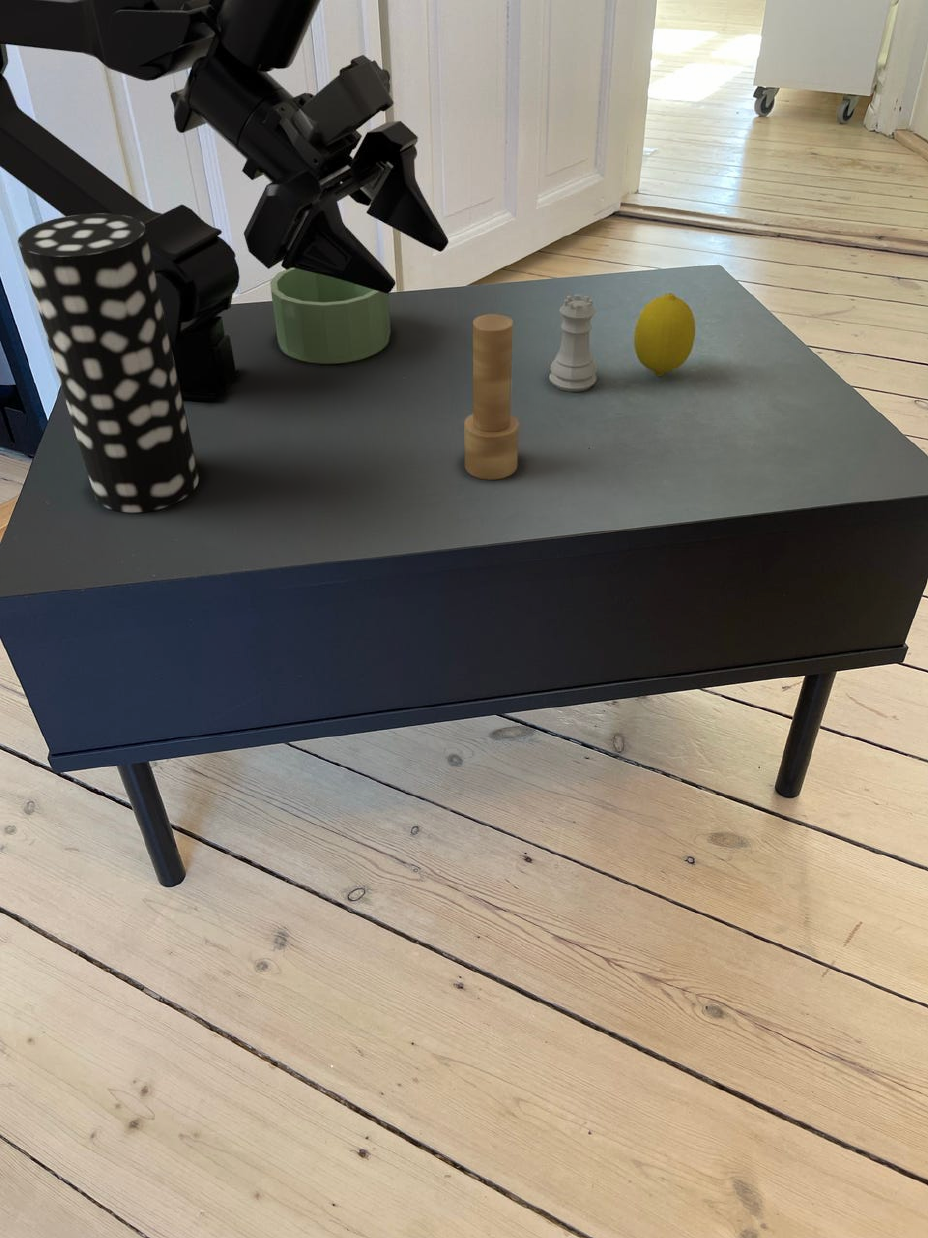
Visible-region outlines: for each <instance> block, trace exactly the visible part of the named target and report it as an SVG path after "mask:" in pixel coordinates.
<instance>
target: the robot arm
mask: <svg viewBox="0 0 928 1238" xmlns="http://www.w3.org/2000/svg"><path fill="white" fill-rule="evenodd" d="M320 2H321V0H0V168H1V169H3V170H4V171H5V172H6V173H8V174H9V175H11V176H12V177H13V178H14V179H15V180H17V181H19V182H20V183H21V184H22V185H24V186H25V187H26V188H27V189H29V190H30V191H31V192H32V193H34V194H35V195H37V196H38V197H39V198H41V200H43V201H44V202H46V203H47V204H48V205H50V206H51V207H52V208H53V209H55V210H56V211H58V213H60V214H62V215H63V217H67V216H73V215H81V214H97V213H105V214H118V215H125V216H129V217H133V218H135V219H138V220H139V221H141V222H142V223H143V224H144V225H145V228H146V232H147V237H148V242H149V246H150V251H151V256H152V260H153V265H154V270H155V274H156V279H157V284H158V288H159V293H160V298H161V302H162V307H163V312H164V316H165V321H166V326H167V330H168V335H169V339H170V344H171V349H172V353H173V358H174V363H175V367H176V372H177V377H178V381H179V386H180V391H181V395H182V400H191V401H200V402H201V401H202V402H214V401H217V400H218V398H219V397H220V396H221V395H222V394H223V392H224V391H225V390H226V389H227V387H228V386H229V385H230V383H231V382H232V381H233V380H234V379H235V377H236V376H237V375H239V372H240V368H239V366H237V365H236V363H235V359H234V352H233V346H232V341H231V336H230V334H228V333H225V327H224V322H223V317H222V316H220V314H221V313H223V312H224V311H228V310H229V309H230V308H231V307H232V300H233V295H234V294H235V292H236V290H237V289H238V287H239V282H240V270H239V265H238V263H237V260H236V253H235V251H234V250H233V248H232V246H231V245H229V244H228V242H227V241H225V239H223V238H222V237H220V235H222V234H223V231H222V229H220V228H216V227H214V226H212V225H211V224H208V223H207V222H205V221H204V220H203V219H202V218H201V217H200V216H199V215H198V214H197V213H196V212H195V211H194V210H193V209H192V208H190V207H188V206H186V205H184V204H179V205H178V206H176V207H172V208H171V209H169V210H167V211H165V212H163V213H162V212H157V211H154V210H152V209H151V208H149V207H147V206H146V205H145V204H143V202H141V201H140V200H139V199H138V198H136V197H134V195H132V194H131V193H129V192H128V191H127V190H126V189H124V188H123V187H121V186H120V185H119V184H118V183H116V182H115V181H114V180H113V179H111V178H110V177H109V176H107V175H106V174H105V173H104V172H102V171H101V170H99V168H97V167H96V166H94V165H93V164H92V163H91V162H89V161H88V160H86V159H85V157H83V156H81V155H80V154H78V153H77V152H76V151H75V150H73V149H72V148H71V147H70V146H69V145H67V144H65V143H64V142H63V141H62V140H61V139H59V138H58V137H57V136H56V135H54V134H53V133H52V132H50V131H49V130H48V129H46V128H45V127H44V126H43V125H41V124H40V123H39V122H37V121H36V120H35V119H33V118H32V117H30V115H28V114H27V113H25V112H24V111H23V110H22V109H21V108H19V106H18V103H17V101H16V99H15V96H14V93H13V91H12V89H11V86H10V84H9V82H8V79H7V78H6V76H4V73H5V71H6V69H7V66H8V64H9V57H8V50H7V46H8V45H9V46H16V47H17V46H18V47H26V48H35V49H45V50H53V51H61V52H62V51H63V52H71V53H80V54H85V55H87V56H89V57H90V56H91V57H93V58H95V59H97V60H98V61H100V62H101V64H102V65H104V66H105V67H106V68H107V69H108V70H111V71H115V72H117V73H118V72H119V73H121V74H122V75H126V76H129V77H132V78H135V79H137V80H141V81H145V82H150V81H155V80H158V79H159V80H160V79H162V78H164V77H168V76H170V75H174V74H177V73H179V72H182V71H185V70H188V69H190V70H189V73H188V75H187V79H186V81H185V84H184V87H183V88H181V89H178V90H176V91H172V92H171V93H170V99H171V102H172V105H173V110H174V111H173V121H174V124H175V129H176V131H177V132H178V133H179V134H184V133H186V132H189V131H192V130H193V129H196V128H199V127H202V126H203V125H206V124H207V125H208V126H209V127H210V128H211V129H212V130H213V131H215V133H216V134H217V135H219V136H220V137H221V138H222V139H224V140H225V142H227V144H229V145H230V146H231V147H232V148H233V149H234V150H235V151H236V152H238V153H239V155H240V156H242V157H243V158H244V159H245V160H246V161H245V163H244V165H243V168H242V170H241V172H242V173H243V174H244V175H246V177H247V178H249V179H250V180H251V181H254V180H256V179H258V178H259V177H261V176H264V177H265V178H266V179H267V180H268V181H269V183H268V184H266V185H265V187H264V190H263V192H262V194H261V196H260V197H259V200H258V202H257V204H256V206H255V208H254V211H253V212H252V214H251V217H250V218H249V221H248V223H247V224H246V227H245V229H244V231H243V236H244V240H245V243H246V247H247V250H248V253H249V254H251V255H252V256H253V257H254V258H255V259H256V260H258V261H259V262H260V263H261V265H263V266H264V267H265V268H266V269H268V270H270V269H271V268H273V267H274V266H277V264H279V263H281V264H280V266H281V267H282V268H283V269H284V270H285V269H286V270H288V269H290V268H297V269H301V270H305V271H309V272H313V273H318V274H322V275H326V276H330V277H333V278H337V279H340V280H344V281H347V282H350V283H354V284H357V285H360V286H363V287H367V288H370V289H373V290H376V291H380V292H383V293H388V294H390V293H391V292H392V290H393V289H394V287H395V286H396V280H395V279H394V278H393V276H392V275H391V274H390V273H389V272H388V270H387V269H386V267H384V265H383V264H382V263H381V262H380V261H379V260H378V259H377V258H376V256H374V255H373V253H371V251H370V250H369V249H368V248H367V247H366V246H365V245H364V244H363V243H362V242H361V241H360V240H359V239H358V238H357V236H356V235H355V234H354V233H353V232H352V231H351V230H350V229H349V228H348V227H347V226H346V224H345V222H344V221H343V217H342V214H341V211H340V207H339V203H338V202H340V201H341V200H343V199H344V198H346V197H348V196H349V197H350V198H351V199H352V200H353V201H354V202H355V203H357V204H360V205H363V206H365V207H366V206H367V207H368V209H367V211H366V214H367V215H369V216H370V217H372V218H374V219H375V220H378V221H380V222H382V223H383V224H385V225H387V226H389V227H390V228H392V229H395V230H396V231H398V232H400V233H401V234H404V235H406V236H408V237H409V238H411V239H413V240H415V241H417V242H419V243H421V244H422V245H424V246H427V247H429V248H431V249H433V250H435V251H437V252H440V253H441V252H443V251H444V250H446V247H447V246H448V244H449V238H448V236H447V235H446V233H445V231H444V230H443V227H442V226H441V224H440V222H439V221H438V219H437V217H436V215H435V214H434V212H433V210H432V209H431V206H430V205H429V203H428V202H427V200H426V198H425V196H424V194H423V192H422V190H421V188H420V186H419V184H418V181H417V179H416V168H415V167H416V166H415V165H416V164H415V160H416V159H417V156H418V151H417V150H418V149H417V147H416V145H417V143H418V142H419V137H418V136H417V135H416V134H415V133H414V131H412V129H410V128H409V127H408V126H407V125H406V124H405V123H403V121H402V120H397V121H396V120H395V121H387V122H384V123H383V124H381V125H379V126H377V127H375V128H373V129H372V130H369V131H367V132H366V133H365V136H364V137H363V135H362V134H361V133H360V132H359V131H357V130H358V129H360V128H361V127H363V126H364V125H365V124H366V123H367V122H369V121H370V120H371V119H372V118H374V117H375V116H376V115H377V114H379V113H380V112H386V111H388V109H390V108H391V107H392V106H393V105H394V103H395V102H394V100H393V98H392V97H391V95H390V92H391V84H390V82H391V81H390V80H391V73H390V72H389V71H388V70H387V69H385V68H383V69H382V68H381V67H380V66H379V64H378V63H377V61H376V60H375V59H374V60H371V59H370V58H368V57H367V56H365V55H364V54H362V55H359V56H356V57H354V58H352V59H351V60H350V64H348V65H346V66H344V67H342V68H341V69H339V73H338V75H337V76H336V77H335V78H333V79H332V80H330V82H328V83H327V84H326V85H325V86H323V88H321V89H320V90H319V91H318V92H316V94H315V95H314V94H312V93H310V92H303V93H300V94H299V95H296V96H293V95H292V94H291V93H290V92H289V91H288V90H287V89H286V88H285V87H284V86H282V85H281V83H279V82H278V81H277V80H276V79H275V78H274V77H273V76H272V75H270V73H269V72H271V71H273V70H275V69H276V70H283V69H284V70H285V69H288V68H289V67H291V66H292V65H293V64H294V61H295V59H296V57H297V54H298V52H299V49H300V47H301V45H302V43H303V41H304V40H305V36H306V34H307V32H308V30H309V27H310V25H311V23H312V20H313V19H314V16H315V14H316V12H317V9H318V8H319V5H320ZM362 138H363V139H362ZM361 140H362V141H361ZM360 141H361V143H360ZM359 143H360V144H359ZM358 144H359V146H358ZM357 146H358V148H357ZM356 148H357V150H356V152H355V154H354V156H353V157H352V155H351V154H352V152H353V150H355V149H356Z"/></svg>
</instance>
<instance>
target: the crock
mask: <svg viewBox="0 0 928 1238" xmlns="http://www.w3.org/2000/svg"><path fill="white" fill-rule="evenodd" d="M269 286H270V294H271V301H272V308H273V314H274V315H273V316H274V322H275V331H276V336H277V337H276V339H277V343H278V347H279V349H280V350H281V352H283V353H284V354H285V355H287V356H289V357H291V358H293V359H294V360H297V361H300V362H301V361H302V362H305V363H310V364H321V365H322V364H323V365H326V364H328V365H332V364H334V365H335V364H345V363H351V362H356V361H360V360H364V359H367V358H369V357H372V356H374V355H376V354H378V353H379V352H381V351H383V350H384V348H386V347H387V345H388V344H389V342H390V340H391V331H392V330H391V315H390V314H391V312H390V297H389V295H390V293H383V292H380V291H376V290H373V289H370V288H367V287H363V286H360V285H357V284H354V283H350V282H347V281H344V280H340V279H337V278H333V277H330V276H326V275H322V274H318V273H313V272H309V271H305V270H301V269H297V268H290V269H288V270H286V269H285V268H284V269H283V270H281V271H279V272H277V273H276V274H275V275H274V276H273V278H272V279H271V280H270V281H269Z"/></svg>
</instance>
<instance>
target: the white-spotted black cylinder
mask: <svg viewBox="0 0 928 1238" xmlns="http://www.w3.org/2000/svg"><path fill="white" fill-rule="evenodd" d="M17 244H18V247H19V251H20V254H21V257H22V261H23V265H24V268H25V270H26V274H27V278H28V280H29V285H30V287H31V290H32V293H33V297H34V301H35V304H36V307H37V310H38V314H39V317H40V321H41V324H42V327H43V331H44V333H45V337H46V340H47V343H48V347H49V351H50V354H51V357H52V360H53V364H54V366H55V370H56V373H57V377H58V380H59V384H60V386H61V389H62V393H63V396H64V400H65V403H66V407H67V410H68V413H69V416H70V420H71V423H72V427H73V429H74V433H75V436H76V439H77V444H78V446H79V449H80V453H81V457H82V460H83V462H84V466H85V469H86V473H87V477H88V479H89V483H90V485H91V489H92V492H93V495H94V498H95V500H96V501H97V502H98V504H100V505H101V506H103V507H104V508H106V509H109V510H112V511H116V512H121V513H132V514H133V513H146V512H152V511H157V510H160V509H165V508H168V507H170V506H173V505H175V504H176V503H178V502H180V501H182V500H184V499H185V498H187V497H188V496H189V495H191V493H193V491H194V490H195V489H196V487H197V486H198V484H199V479H200V475H199V470H198V465H197V461H196V456H195V452H194V448H193V442H192V438H191V432H190V429H189V424H188V419H187V414H186V410H185V405H184V401H183V400H184V399H182V395H181V391H180V386H179V381H178V377H177V372H176V367H175V363H174V358H173V353H172V349H171V344H170V339H169V335H168V330H167V326H166V321H165V316H164V312H163V307H162V302H161V298H160V293H159V288H158V284H157V279H156V274H155V270H154V265H153V260H152V256H151V251H150V246H149V242H148V237H147V232H146V228H145V225H144V224H143V223H142V222H141V221H139V220H138V219H135V218H133V217H129V216H125V215H118V214H105V213H97V214H81V215H73V216H67V217H66V216H63V217H58V218H54V219H51V220H47V221H44V222H40V223H38V224H35V225H34V226H32V227H30V228H28V229H26V230H25V231H24V232H22V233H21V234H20V236H19V237H18V238H17Z"/></svg>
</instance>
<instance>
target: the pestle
mask: <svg viewBox="0 0 928 1238" xmlns="http://www.w3.org/2000/svg"><path fill="white" fill-rule="evenodd" d="M513 335H514V321H513V320H512V318H511V317H509V316H506V315H503V314H499V313H498V314H497V313H489V314H482V315H479V316H477V317H475V318H474V320H473V321H472V413H471V414H469V415H468V416H466V418H465V420H464V421H463V423H464V424H463V426H464V427H463V428H464V429H463V431H464V433H463V434H464V435H463V437H464V442H463V446H464V449H463V450H464V455H463V457H464V469H465V471H466V472H467V473H468V474H469V475H471V476H473V477H475V478H478V479H481V480H487V481H488V480H491V481H493V480H495V481H496V480H502V479H505V478H508V477H510V476H511V475H513V474H514V473H515V472H516V471H517V469H518V463H519V462H518V460H519V459H518V457H519V431H520V423H519V420H518V418H517V417H516V416H515V415H513V414H512V413H511V411H512V410H511V409H512V408H511V407H512V377H513V376H512V375H513V374H512V373H513V341H514V339H513V338H514V336H513Z"/></svg>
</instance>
